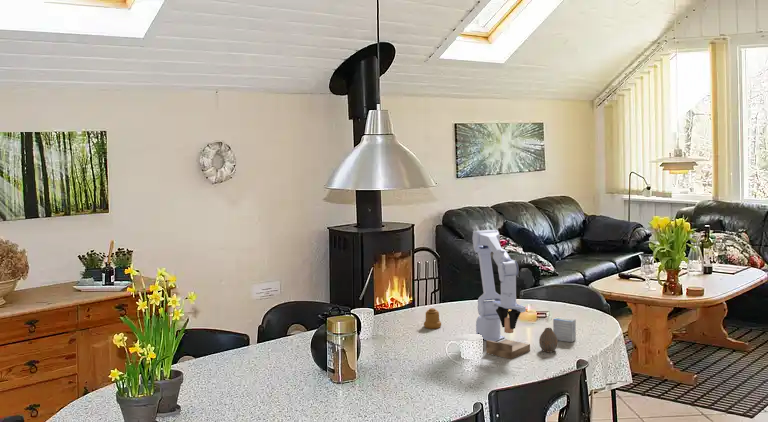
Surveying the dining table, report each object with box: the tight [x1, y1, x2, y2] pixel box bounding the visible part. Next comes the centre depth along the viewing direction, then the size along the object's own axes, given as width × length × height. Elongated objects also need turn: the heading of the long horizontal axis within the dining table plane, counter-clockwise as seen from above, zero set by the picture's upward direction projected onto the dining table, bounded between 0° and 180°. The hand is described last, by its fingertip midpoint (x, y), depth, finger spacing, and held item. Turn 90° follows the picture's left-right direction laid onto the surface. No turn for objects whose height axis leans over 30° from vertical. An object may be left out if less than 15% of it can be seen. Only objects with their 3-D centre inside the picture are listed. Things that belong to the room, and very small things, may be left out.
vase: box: [538, 327, 559, 353], centre depth 298 cm, size 7×7×9 cm
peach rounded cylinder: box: [503, 316, 514, 334], centre depth 298 cm, size 3×3×6 cm
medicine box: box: [552, 316, 577, 343], centre depth 312 cm, size 8×4×9 cm, turn 58°
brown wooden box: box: [485, 338, 531, 360], centre depth 298 cm, size 11×13×5 cm
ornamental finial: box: [423, 307, 442, 330], centre depth 336 cm, size 8×8×8 cm
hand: (508, 327), depth 298 cm, fingers closed on peach rounded cylinder, 3 cm apart
